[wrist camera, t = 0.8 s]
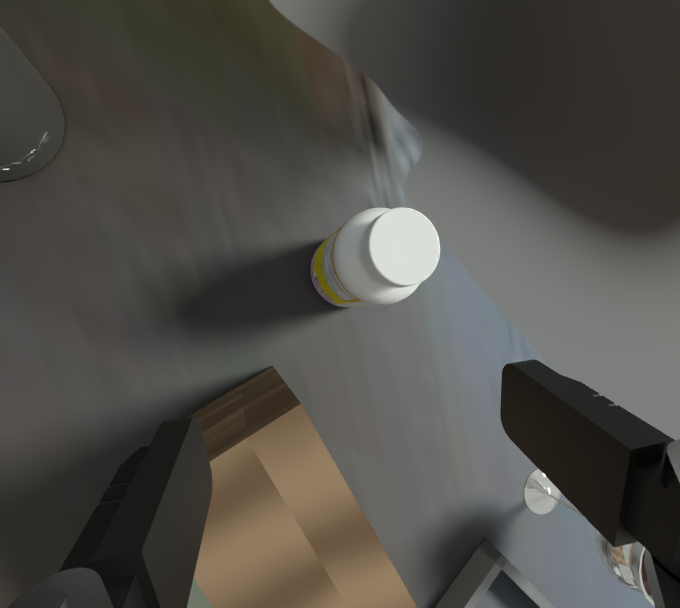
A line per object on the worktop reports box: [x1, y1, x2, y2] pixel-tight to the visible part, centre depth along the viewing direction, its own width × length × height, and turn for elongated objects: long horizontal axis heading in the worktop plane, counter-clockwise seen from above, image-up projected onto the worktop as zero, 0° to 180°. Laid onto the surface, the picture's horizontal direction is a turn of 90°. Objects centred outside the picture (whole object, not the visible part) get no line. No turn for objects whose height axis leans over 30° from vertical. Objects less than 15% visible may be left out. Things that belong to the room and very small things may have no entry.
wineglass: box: [524, 469, 655, 606], centre depth 34 cm, size 7×7×12 cm
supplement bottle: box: [311, 208, 440, 307], centre depth 28 cm, size 7×7×13 cm
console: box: [186, 366, 417, 608], centre depth 26 cm, size 28×8×14 cm, turn 29°
